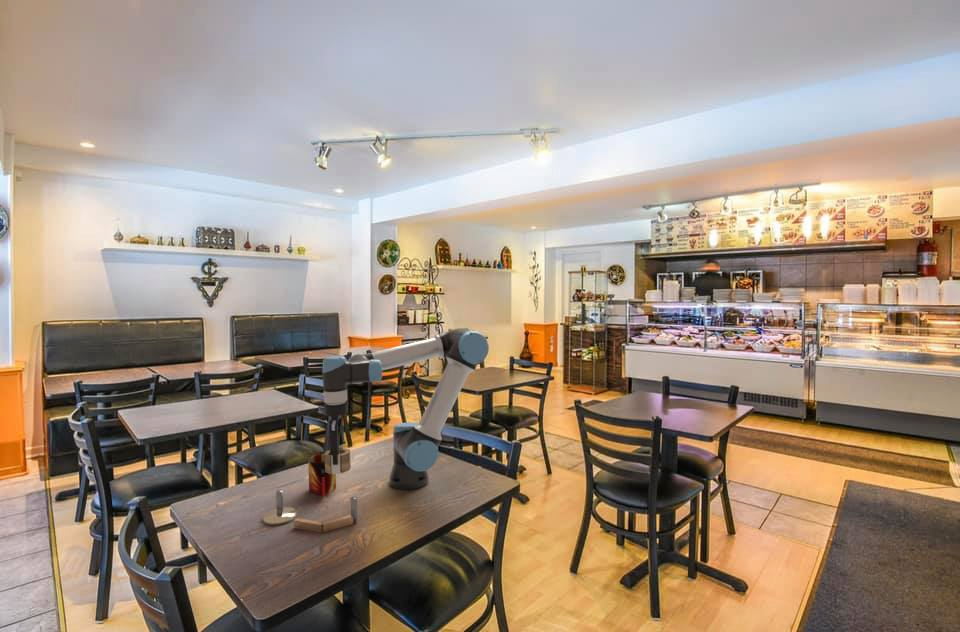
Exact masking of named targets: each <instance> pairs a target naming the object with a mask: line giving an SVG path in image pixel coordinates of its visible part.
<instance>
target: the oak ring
mask: <svg viewBox="0 0 960 632" xmlns="http://www.w3.org/2000/svg"><path fill="white" fill-rule="evenodd" d="M329 453H330V449H329V450H326V451H325V453H324V454H325V472H326V473H329V474H332V466H331V455H329ZM339 453H340V470H341V473H340V474H343V473H346V472H348V471H350V470H351V468H352V467H351V466H352V463H351V462H352V461H351V449H349V448H346V447H344V448H339Z"/></svg>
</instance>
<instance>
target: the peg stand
mask: <svg viewBox="0 0 960 632" xmlns="http://www.w3.org/2000/svg"><path fill="white" fill-rule="evenodd" d="M283 493H284V492H283V490H282V489H277V490H276V491H275V501H276V503H275V505H276V508H274V509H271V510H269V511H267V512H266V513H264V515H263V518H262V520H263V524H265V525H268V526H281V525H285V524H288V523H290V522H292V521H294V520H295V519H296V518H297V510H296V508H293V507H285V506H284V496H283V495H284V494H283Z"/></svg>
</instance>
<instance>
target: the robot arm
mask: <svg viewBox="0 0 960 632" xmlns="http://www.w3.org/2000/svg"><path fill="white" fill-rule="evenodd" d="M489 347H490V345H489V342H488V339H487V338H486V336H485V335H484V334H482V333H481V332H479V331H476V330H474V329H473V330H470V329H467V328H455V329H451V330H449V331H446V332H442V333H439V334H435V335H434V337H433V338H428V339H424V340H419V341H415V342H411V343H407V344H404V345H403V344H402V345H398V346H394V347H390V348H385V349H381V350H376V351H373V352H368V353H365V354H359V353H358V354H353V355H352V356H351V357H349V359H348V361H347V359H346V357H345V355H344V356H343V355H332V356H330V355H329V356H326V357H324V359H323V360H322V371H321V372H322V387H323V392H322V393H321V396H322V397H323V403H324V404H323V413H324V416H326V417H330V420H329V421H328V422H329V425H328V428H329V450H330V453H329V455H331V466H332V474H336V475H338V474H340V473H341V470H340V453H339V448H345V447H344V445H346V444H347V443H346V441H345V435H344V434H345V433H344V415H346V414H348V402H347V401H348V389H347V385H348V384H350V385H351V384H361V383H373V382H379V381H381V380H382V378H383V371H386V370H390V369H393V368H399V367H403V366H407V365H410V364H414V363H417V362H421V361H423V362H424V361H427V360H430V359H434V358H439V359H445V358H446V361H447V365H446V367H445V369H444V371H443V373H442V375H441V377H440V379H439V382H438V383H437V385H436V387H435V389H434V391H433V394H432V395H431V397H430V400H429V402H428V404H427V406H426V407H425V410H424V412H423V414H422V415H421V417H420V420H419V421H412V422H411V421H408V422H402V423H397V424H395V425H394V426H393V431H392V435H393V441H392V442H393V465H392V468H391V472H390V475H389V480H388V481H389V486H390V487H392V488H394V489H397V490H406V491H407V490H417V489H420V488H422V487H425V486H426V485H427V484H428V483H429V480H430V479H429V478H430V477H429V471H428V470H430V469H432V468H433V467H434V466H435V464H436V463H437V461H438V459H439V446H440V444H441V442H442V439H443V438H442V435H441V432H442V430H443V428H444V426H445V424H446V421H447V419H448V417H449V415H450V413H451V411H452V409H453V407H454V405H455V404H456V401H457V400H458V396H459V394H460V393H461V391H462V389H463V386H464V384H465V383H466V381H467V378H468V376H469V374H470V373H474V372H475V371H476V369H477V366H478V364H480V363H482V362H483V361H484V360H485V359H486V358H487V356H488V354H489V350H490V349H489ZM341 474H342V473H341Z"/></svg>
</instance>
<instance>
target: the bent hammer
mask: <svg viewBox="0 0 960 632" xmlns="http://www.w3.org/2000/svg"><path fill="white" fill-rule="evenodd" d="M349 500H350V504H349V505H350V514H349V515H344V516H342V517H338V518H337V517H336V518H335V519H329V520H326V521H317V520H311V519H306V518H305V519H304V518H300V517H295V519H293V529H297V530H298V529H299V530H304V531H311V532H316V533H326V532H328V531H333V530H335V529H340V528H343V527H344V528H345V527H347V526H351V525H355V524H357V523H358V498H357V496H351V497H350V499H349Z"/></svg>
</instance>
